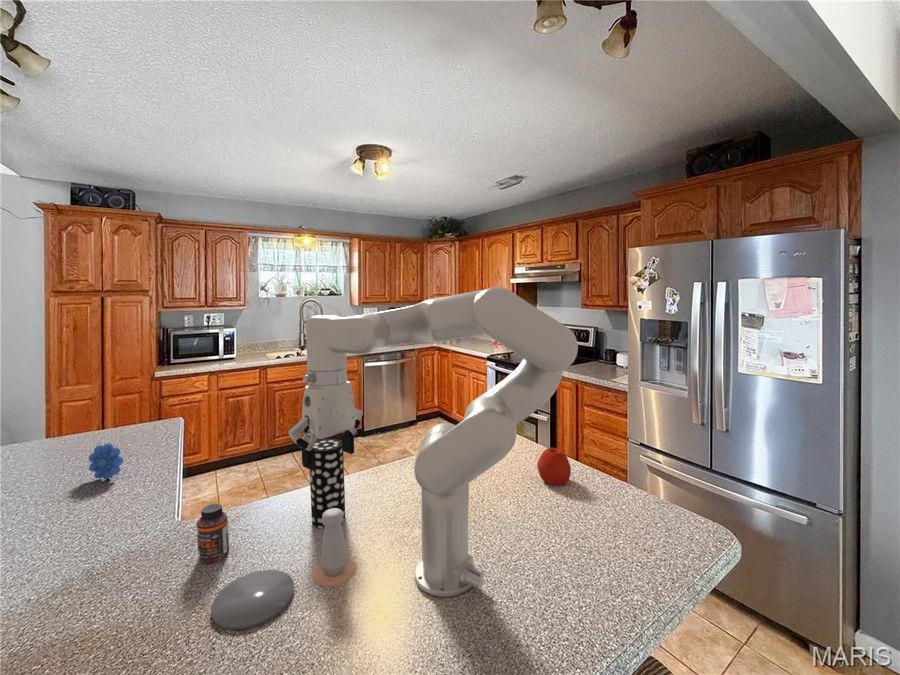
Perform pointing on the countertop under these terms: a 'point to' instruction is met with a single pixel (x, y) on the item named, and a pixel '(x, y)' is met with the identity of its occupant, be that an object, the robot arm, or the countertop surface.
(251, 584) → the slate plate
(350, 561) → the terracotta spot
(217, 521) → the supplement bottle
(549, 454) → the apple
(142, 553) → the countertop surface
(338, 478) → the spotted tube
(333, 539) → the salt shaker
